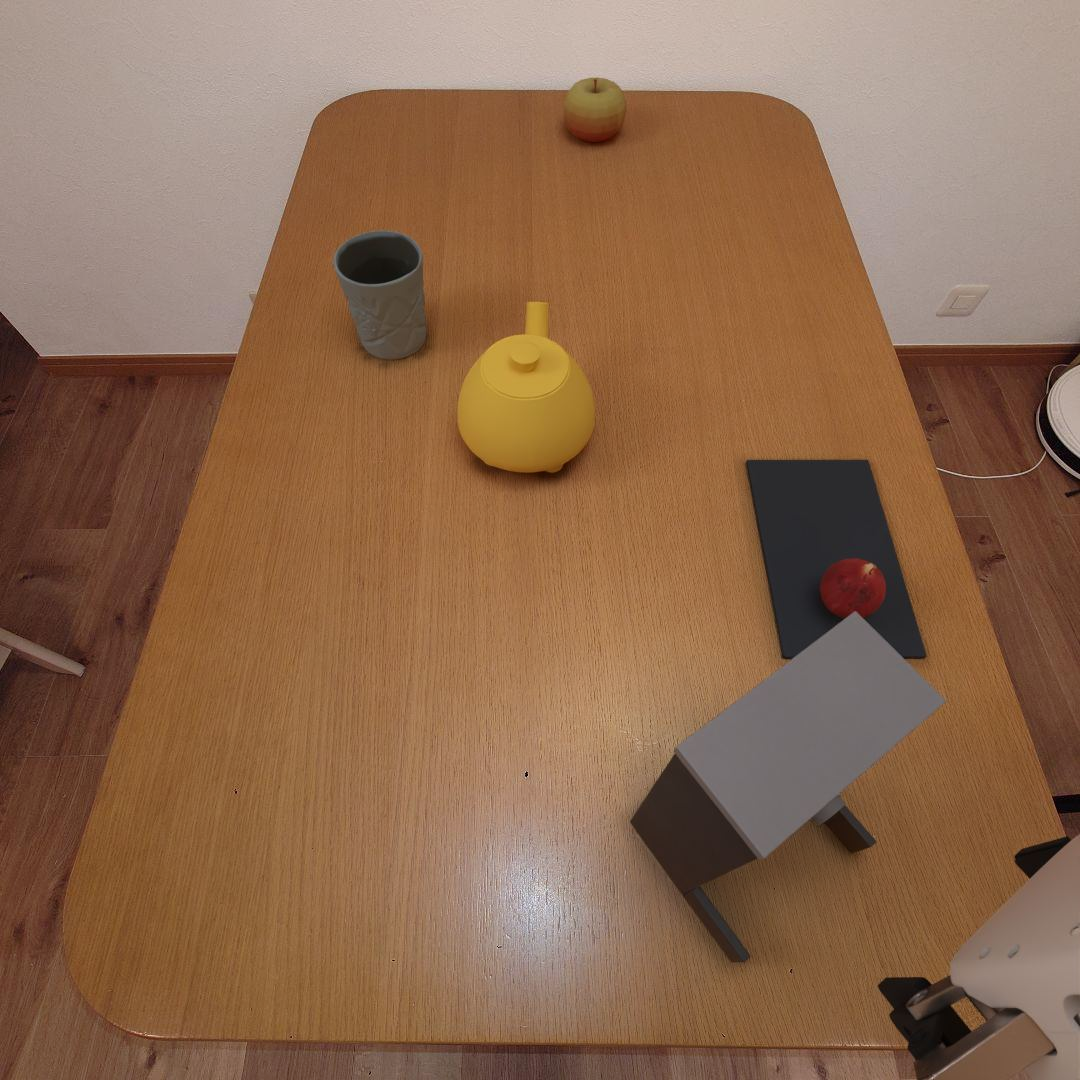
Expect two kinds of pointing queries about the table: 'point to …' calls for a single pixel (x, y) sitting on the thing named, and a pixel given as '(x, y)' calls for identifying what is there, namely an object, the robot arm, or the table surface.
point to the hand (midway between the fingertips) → (977, 946)
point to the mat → (825, 547)
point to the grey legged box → (781, 763)
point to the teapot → (526, 401)
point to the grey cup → (384, 291)
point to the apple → (594, 109)
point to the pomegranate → (853, 588)
